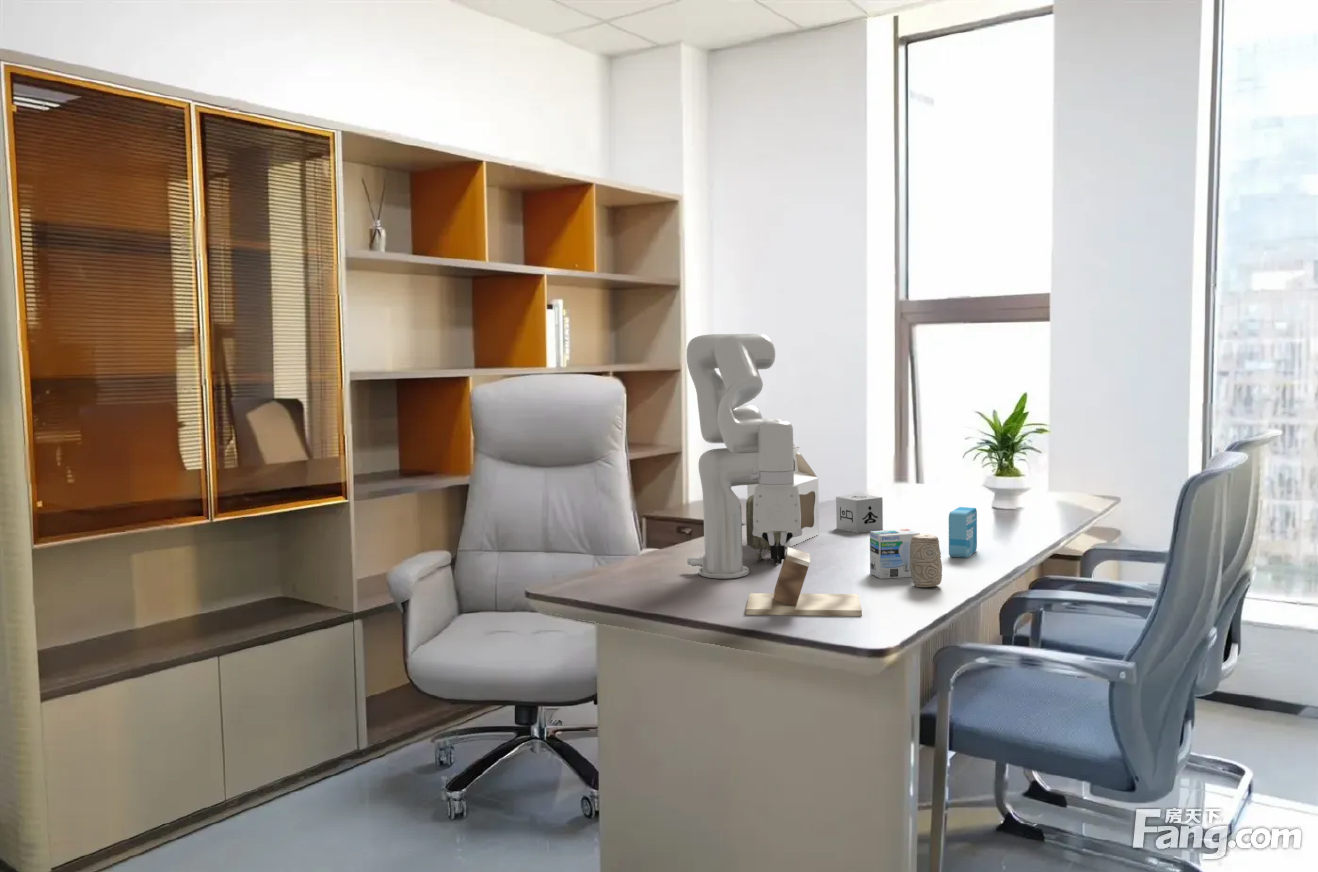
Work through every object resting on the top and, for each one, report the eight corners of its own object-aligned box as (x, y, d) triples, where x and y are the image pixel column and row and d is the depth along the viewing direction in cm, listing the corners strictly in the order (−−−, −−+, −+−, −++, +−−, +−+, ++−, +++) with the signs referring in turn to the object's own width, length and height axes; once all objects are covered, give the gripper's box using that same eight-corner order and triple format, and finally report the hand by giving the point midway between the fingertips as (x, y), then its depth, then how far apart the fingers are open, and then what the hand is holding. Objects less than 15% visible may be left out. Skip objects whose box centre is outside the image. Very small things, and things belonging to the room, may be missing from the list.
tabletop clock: (781, 566, 256) (779, 470, 254) (746, 565, 258) (744, 470, 256) (785, 555, 270) (784, 464, 268) (752, 554, 272) (750, 464, 270)
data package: (965, 559, 259) (965, 513, 258) (948, 557, 261) (948, 512, 260) (977, 550, 269) (977, 507, 268) (960, 549, 271) (960, 506, 270)
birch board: (746, 614, 209) (746, 609, 209) (749, 598, 223) (749, 593, 223) (861, 616, 206) (861, 610, 205) (858, 599, 219) (858, 594, 219)
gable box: (789, 548, 280) (788, 449, 278) (747, 544, 287) (745, 448, 285) (819, 534, 299) (818, 442, 297) (779, 531, 306) (777, 441, 304)
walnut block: (773, 599, 211) (787, 555, 209) (774, 589, 219) (787, 546, 218) (796, 606, 210) (809, 562, 209) (796, 596, 219) (809, 553, 218)
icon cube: (836, 528, 309) (836, 496, 308) (862, 525, 313) (861, 493, 313) (856, 533, 300) (856, 500, 299) (882, 529, 304) (882, 497, 304)
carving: (916, 582, 235) (916, 532, 234) (947, 586, 230) (946, 534, 229) (904, 587, 230) (904, 536, 229) (935, 591, 225) (935, 539, 224)
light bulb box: (880, 579, 238) (879, 535, 237) (868, 573, 245) (868, 530, 244) (921, 576, 240) (921, 532, 239) (909, 570, 247) (908, 528, 246)
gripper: (740, 481, 210) (742, 566, 212) (811, 480, 208) (812, 566, 209) (742, 476, 218) (744, 559, 219) (811, 476, 215) (812, 559, 217)
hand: (777, 562), depth 214 cm, fingers closed
